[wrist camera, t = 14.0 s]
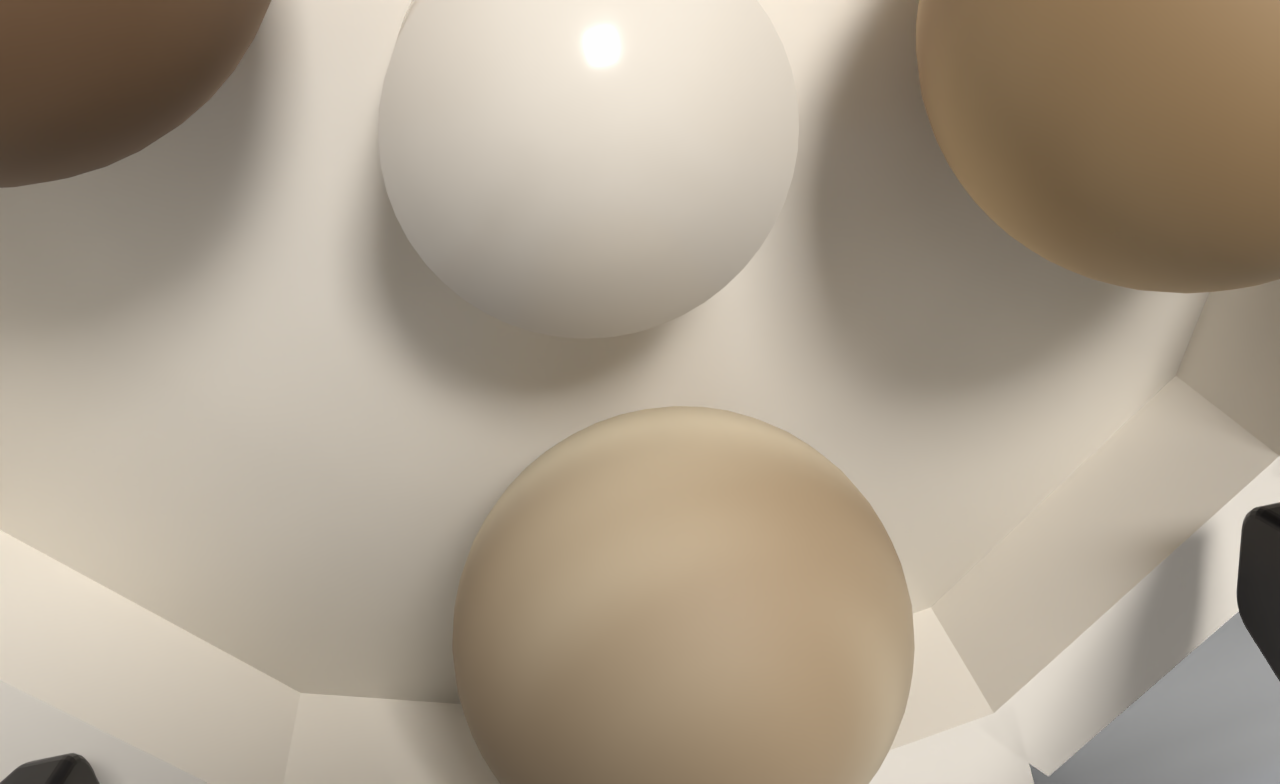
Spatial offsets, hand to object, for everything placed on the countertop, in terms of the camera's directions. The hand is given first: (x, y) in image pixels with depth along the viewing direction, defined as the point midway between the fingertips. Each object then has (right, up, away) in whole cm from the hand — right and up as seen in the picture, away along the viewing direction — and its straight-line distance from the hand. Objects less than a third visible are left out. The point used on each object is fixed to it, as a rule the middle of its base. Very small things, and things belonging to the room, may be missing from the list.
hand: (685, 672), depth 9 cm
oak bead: (+3, +5, -1) cm, 6 cm away
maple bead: (0, 0, 0) cm, 0 cm away
